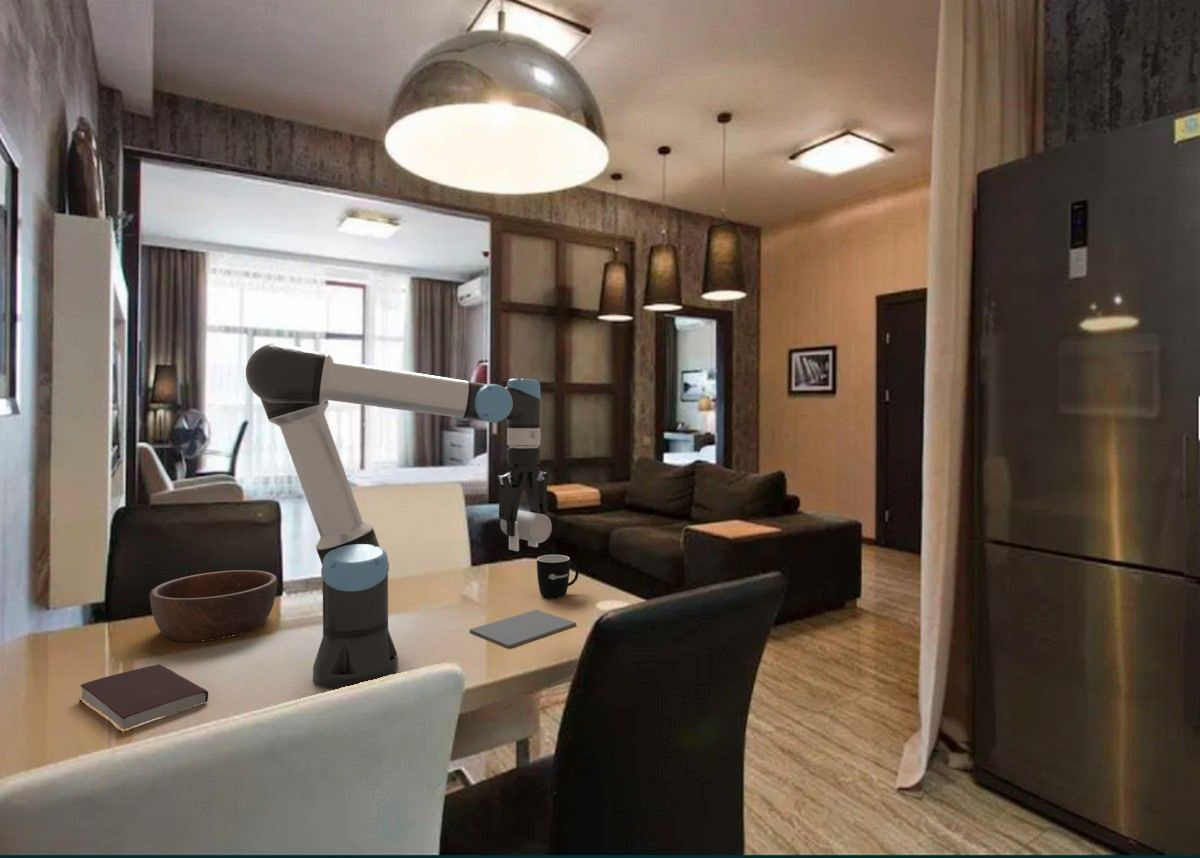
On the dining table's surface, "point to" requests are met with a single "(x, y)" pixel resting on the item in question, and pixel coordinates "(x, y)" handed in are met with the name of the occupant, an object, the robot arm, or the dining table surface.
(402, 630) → the dining table surface
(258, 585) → the wooden bowl
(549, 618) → the mat
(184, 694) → the book
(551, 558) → the mug
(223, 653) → the dining table surface
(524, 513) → the beverage can
